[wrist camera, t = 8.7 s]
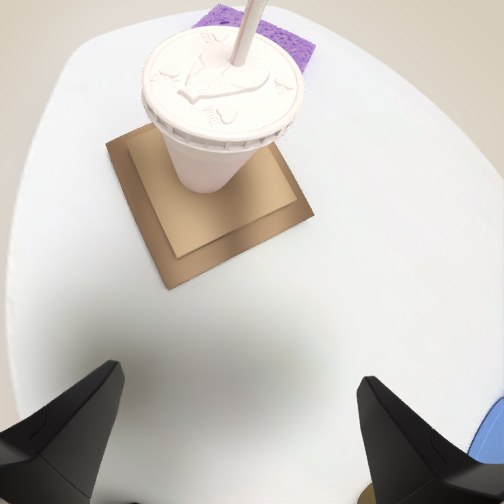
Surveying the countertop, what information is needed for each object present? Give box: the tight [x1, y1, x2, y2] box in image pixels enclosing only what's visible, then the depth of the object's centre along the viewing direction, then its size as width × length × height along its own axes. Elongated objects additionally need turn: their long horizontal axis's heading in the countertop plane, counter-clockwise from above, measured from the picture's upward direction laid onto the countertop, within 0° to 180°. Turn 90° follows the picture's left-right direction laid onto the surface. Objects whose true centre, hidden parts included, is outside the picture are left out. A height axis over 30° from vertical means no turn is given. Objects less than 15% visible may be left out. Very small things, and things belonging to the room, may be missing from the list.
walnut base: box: [106, 122, 314, 290], centre depth 20 cm, size 12×12×3 cm
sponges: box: [191, 4, 316, 74], centre depth 24 cm, size 7×13×2 cm, turn 67°
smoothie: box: [141, 0, 305, 194], centre depth 11 cm, size 6×6×14 cm
